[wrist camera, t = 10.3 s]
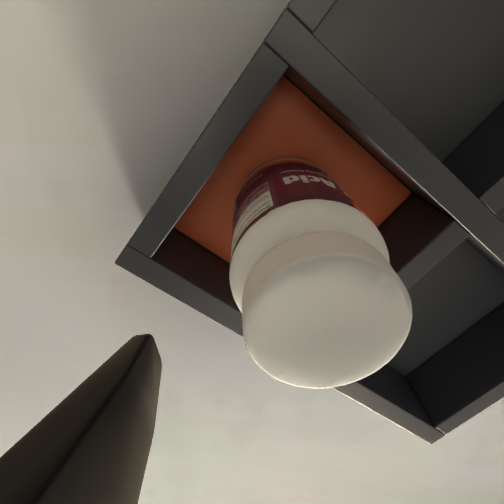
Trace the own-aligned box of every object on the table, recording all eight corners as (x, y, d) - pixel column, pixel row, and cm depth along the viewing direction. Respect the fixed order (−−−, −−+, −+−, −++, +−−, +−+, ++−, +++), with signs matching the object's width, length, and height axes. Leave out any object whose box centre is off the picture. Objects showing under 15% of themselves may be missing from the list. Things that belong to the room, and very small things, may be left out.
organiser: (399, 384, 22) (431, 444, 18) (142, 222, 16) (113, 263, 13) (714, 147, 15) (861, 168, 12) (470, -267, 10) (609, -474, 6)
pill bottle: (358, 189, 15) (476, 298, 8) (298, 269, 17) (346, 421, 9) (268, 132, 14) (303, 196, 6) (214, 225, 16) (191, 360, 8)
